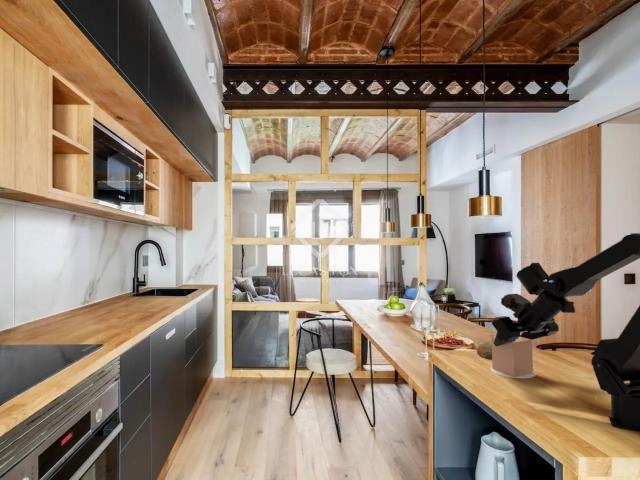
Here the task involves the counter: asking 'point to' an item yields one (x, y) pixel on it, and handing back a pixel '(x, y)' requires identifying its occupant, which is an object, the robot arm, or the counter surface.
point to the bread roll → (485, 349)
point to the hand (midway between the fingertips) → (507, 342)
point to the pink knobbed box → (513, 357)
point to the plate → (512, 376)
